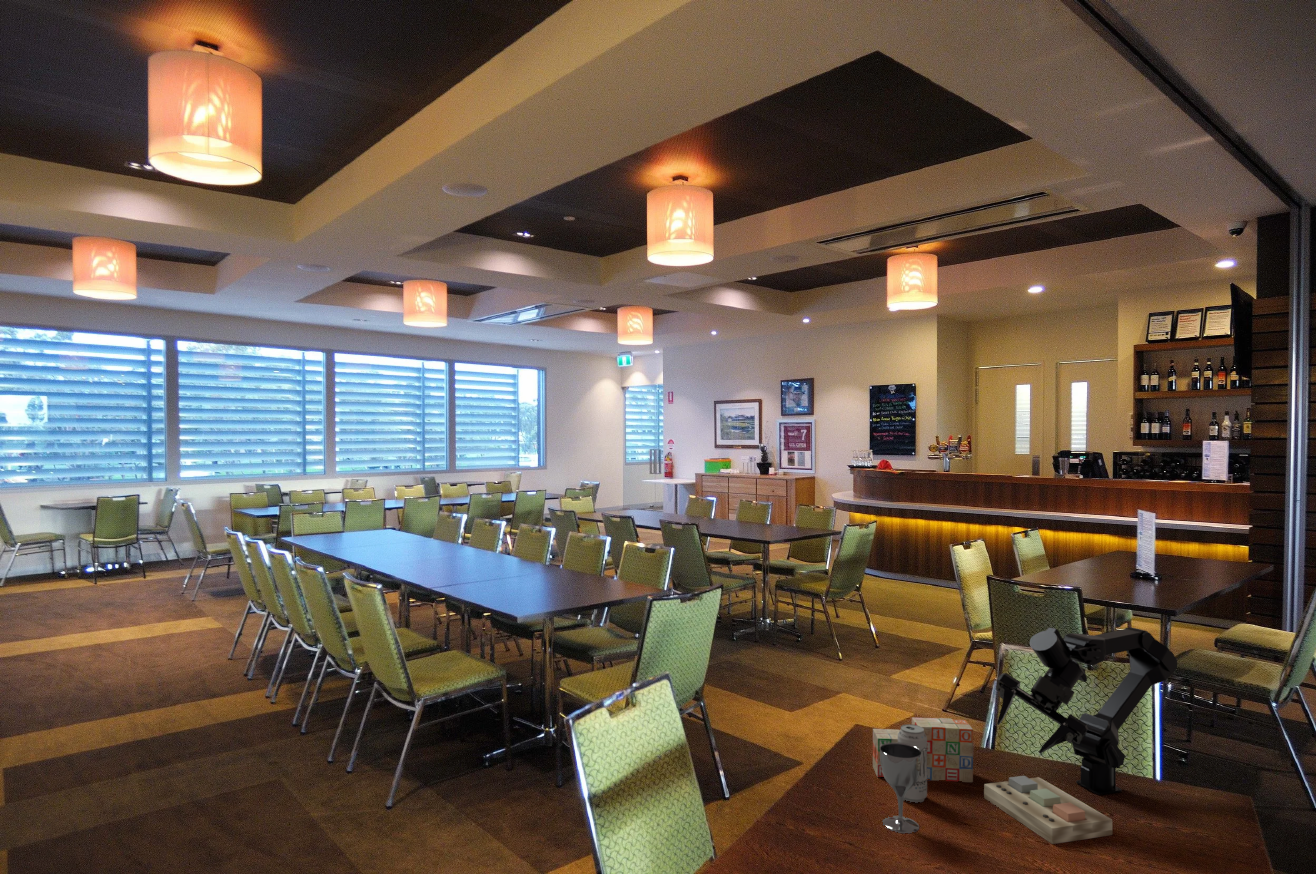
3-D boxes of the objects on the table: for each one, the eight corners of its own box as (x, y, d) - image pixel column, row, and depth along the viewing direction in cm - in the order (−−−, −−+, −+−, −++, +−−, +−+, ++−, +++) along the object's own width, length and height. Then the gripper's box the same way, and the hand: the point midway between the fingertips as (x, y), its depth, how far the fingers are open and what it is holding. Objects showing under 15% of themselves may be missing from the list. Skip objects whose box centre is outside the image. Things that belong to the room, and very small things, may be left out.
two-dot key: (1069, 811, 158) (1069, 802, 158) (1085, 821, 154) (1085, 811, 154) (1053, 814, 157) (1053, 804, 157) (1068, 823, 153) (1068, 813, 153)
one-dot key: (1046, 797, 164) (1046, 788, 164) (1060, 806, 160) (1060, 796, 160) (1029, 799, 163) (1029, 790, 163) (1043, 808, 159) (1043, 799, 159)
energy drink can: (916, 806, 166) (916, 735, 166) (892, 796, 170) (892, 727, 170) (932, 798, 169) (932, 729, 169) (908, 789, 174) (908, 721, 174)
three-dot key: (1024, 784, 171) (1024, 775, 171) (1037, 792, 167) (1037, 783, 167) (1008, 786, 170) (1008, 777, 170) (1021, 794, 166) (1021, 785, 166)
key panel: (1038, 790, 173) (1038, 776, 173) (1112, 835, 154) (1112, 818, 154) (984, 798, 170) (984, 783, 170) (1052, 844, 150) (1052, 827, 150)
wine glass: (882, 832, 155) (882, 756, 155) (877, 813, 163) (877, 741, 163) (924, 836, 153) (924, 759, 153) (917, 816, 161) (917, 743, 161)
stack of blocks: (877, 778, 180) (877, 724, 180) (872, 767, 186) (872, 715, 186) (973, 782, 178) (973, 728, 178) (965, 771, 184) (965, 718, 184)
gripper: (1019, 641, 169) (978, 695, 165) (1107, 694, 158) (1066, 755, 153) (1015, 662, 178) (977, 715, 173) (1099, 714, 166) (1060, 773, 161)
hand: (1018, 738), depth 165 cm, fingers open, 9 cm apart
